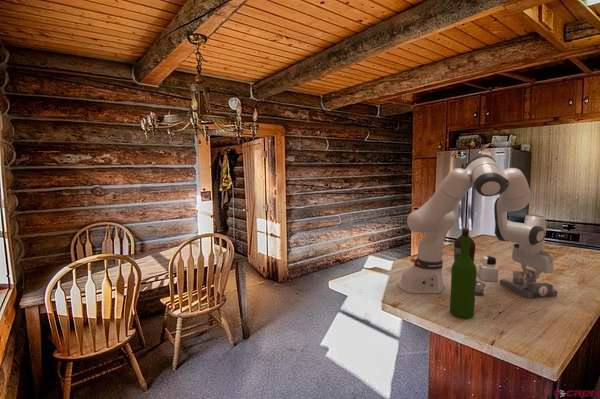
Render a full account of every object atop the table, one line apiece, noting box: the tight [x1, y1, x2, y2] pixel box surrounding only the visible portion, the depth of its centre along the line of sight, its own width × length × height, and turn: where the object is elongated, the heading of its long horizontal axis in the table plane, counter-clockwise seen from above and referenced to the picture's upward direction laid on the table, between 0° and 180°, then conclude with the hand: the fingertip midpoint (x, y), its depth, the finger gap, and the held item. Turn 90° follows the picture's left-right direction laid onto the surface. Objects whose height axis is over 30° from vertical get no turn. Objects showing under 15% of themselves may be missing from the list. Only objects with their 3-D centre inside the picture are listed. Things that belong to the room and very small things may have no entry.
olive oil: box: [453, 227, 476, 264], centre depth 178 cm, size 11×11×25 cm
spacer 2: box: [512, 270, 525, 284], centre depth 154 cm, size 4×4×5 cm
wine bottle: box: [449, 235, 478, 320], centre depth 129 cm, size 9×9×32 cm
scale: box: [499, 278, 558, 299], centre depth 153 cm, size 15×18×6 cm
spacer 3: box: [524, 268, 537, 282], centre depth 155 cm, size 4×4×5 cm
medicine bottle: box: [478, 255, 499, 283], centre depth 168 cm, size 7×7×12 cm
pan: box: [502, 276, 540, 289], centre depth 155 cm, size 13×12×1 cm
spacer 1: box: [475, 280, 486, 296], centre depth 150 cm, size 4×4×5 cm
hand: (530, 275), depth 155 cm, fingers open, 5 cm apart
